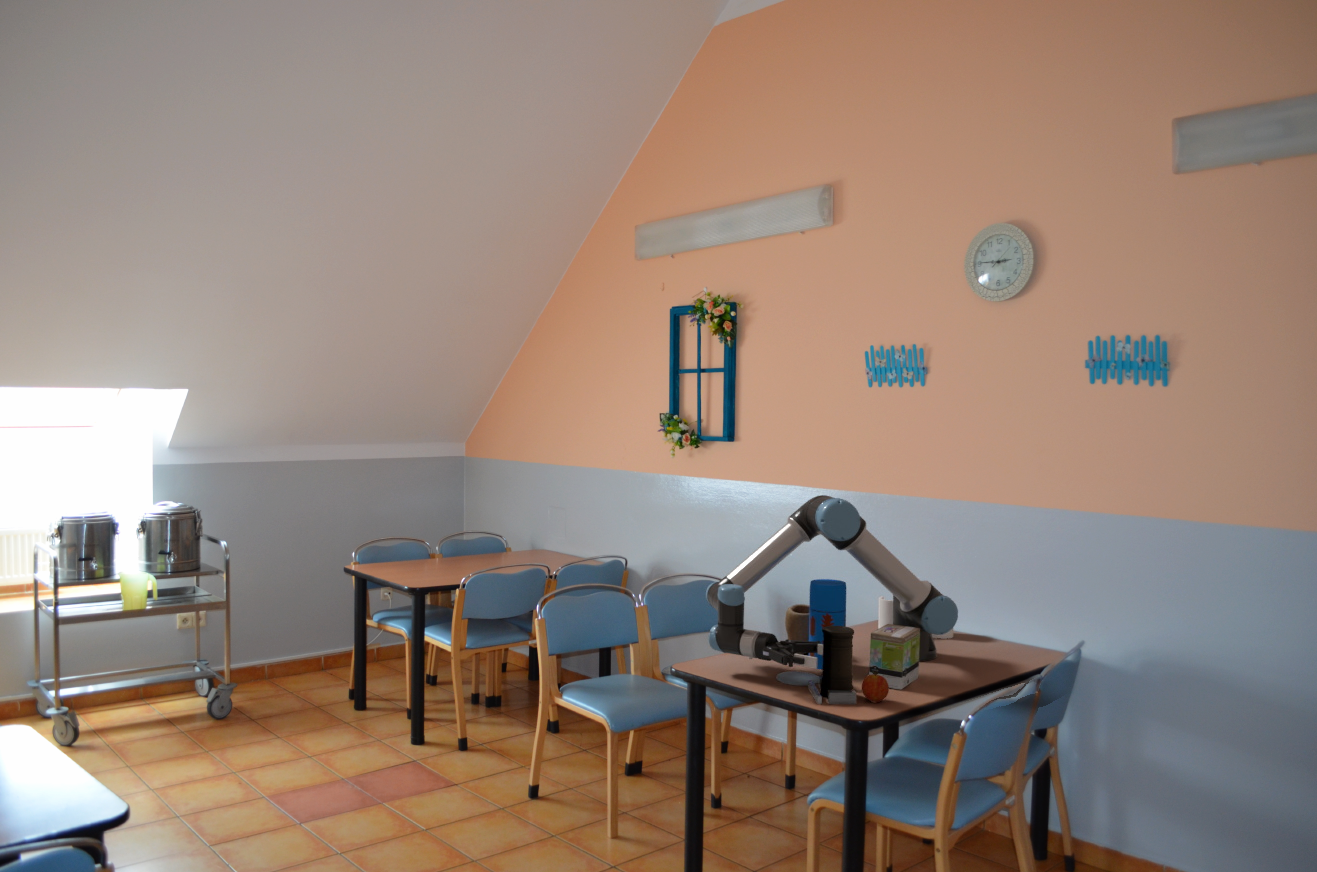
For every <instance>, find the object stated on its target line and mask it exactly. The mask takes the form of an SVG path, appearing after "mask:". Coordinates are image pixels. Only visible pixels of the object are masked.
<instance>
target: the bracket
mask: <svg viewBox="0 0 1317 872" xmlns="http://www.w3.org/2000/svg"><path fill="white" fill-rule="evenodd" d="M877 618H878V623H877V626H878V629H879V628H881V627H883V626H885V625H887V624H893V600H889V599H885V597H884V596H882V595H880V596H879V597H878V617H877ZM932 636H933V639H937V638H941V639H944V640H945V639H946V640H948V639H951V638H954V627H953V628H952V629H951V630H950V631H949V632H947V633H945V634H942V635H935V634H932ZM947 638H948V639H947ZM941 639H940V640H941Z"/></svg>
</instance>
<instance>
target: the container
mask: <svg viewBox="0 0 1317 872" xmlns="http://www.w3.org/2000/svg"><path fill="white" fill-rule="evenodd" d="M822 633H823V638H824V642H823V670H821V671H822V674H821V676H822V684H821V686H820V687H821V688H822V689H819V690H820V691H819V693H820V695H821V696H822V698H824V699H827V700H828V690H836V691H854V688H855V687H854V684H853V680H854V679H853V678H854V677H853V647H854V644H853V639H854V634H855V631H854V629H853V628H852V627H849V626H846V627H845V626H826V627H823V629H822Z"/></svg>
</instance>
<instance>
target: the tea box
mask: <svg viewBox="0 0 1317 872" xmlns="http://www.w3.org/2000/svg"><path fill="white" fill-rule="evenodd" d="M869 641H870V642H869V643H870V645H869V646H870V647H869V667H868V668H869V669H868V675H872V674H876V671H877V674H876V675H880V676H882V677H884V678H885V679H886V681H887V683H888V686H889V689H894V690H900V691H901V690H903V689H904V688H905V687H907V686H909V685H910V684H912V683H913V682H914V681H916V680H917V679H918V678H919V671H920V669H919V668H920V661H919V649H920V628H914V627H907V626H900V625H893V624H887V625H885V626H883V627H881V628H879V629H875V630H873V631H872V632H870V639H869Z"/></svg>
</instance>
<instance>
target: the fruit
mask: <svg viewBox="0 0 1317 872" xmlns="http://www.w3.org/2000/svg"><path fill="white" fill-rule="evenodd" d="M876 674H877V671H876ZM876 674H872V675H869V674H868V675H867V676H865V677H863V680H862V682H861V691H862V694H863V696H864V697H865V698H866V699H867V700H869V701H871V702H872V703H880V702H881V701H884V699H886V698H887V697H888V694H889V692H890V691H889V690H890V688H889V686H888V683H887V681H886V679H885V678H884V677H882V676H880V675H876Z"/></svg>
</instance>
